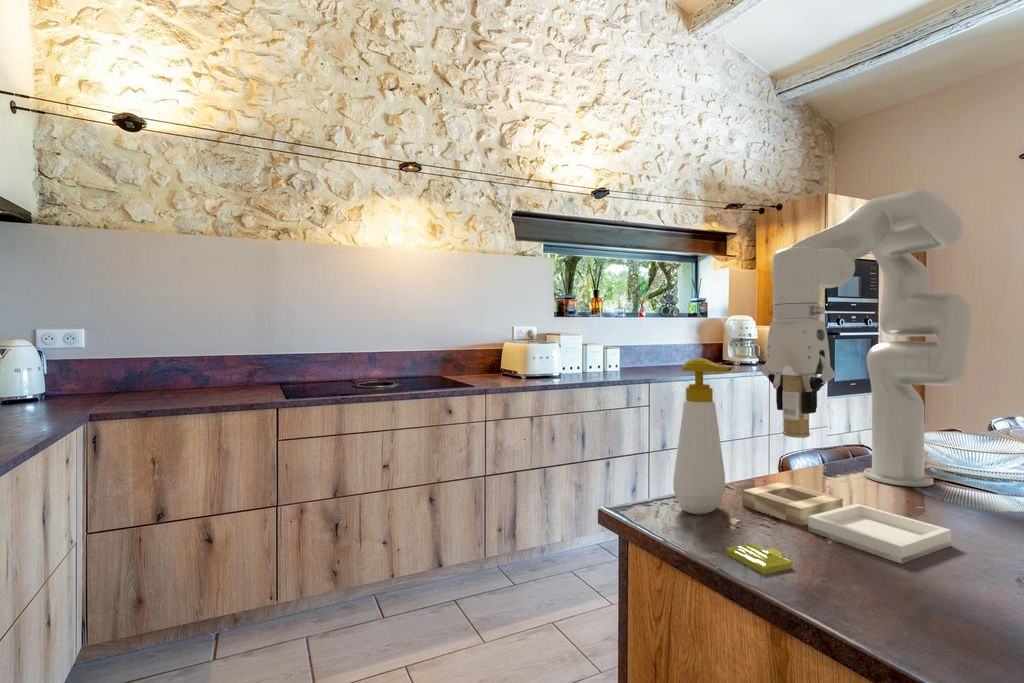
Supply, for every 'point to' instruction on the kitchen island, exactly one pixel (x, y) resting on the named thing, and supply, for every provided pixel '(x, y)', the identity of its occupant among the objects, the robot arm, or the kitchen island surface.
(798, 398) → the sprinkles bottle
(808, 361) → the robot arm
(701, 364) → the soap bottle
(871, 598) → the kitchen island surface
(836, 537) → the tray
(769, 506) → the socket holder
